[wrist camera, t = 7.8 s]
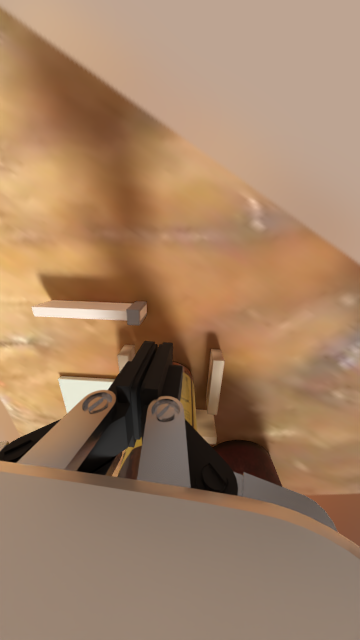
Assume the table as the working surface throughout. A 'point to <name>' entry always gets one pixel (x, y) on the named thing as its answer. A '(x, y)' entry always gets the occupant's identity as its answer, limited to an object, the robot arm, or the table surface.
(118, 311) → the bar
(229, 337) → the table surface
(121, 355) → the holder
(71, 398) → the tile
